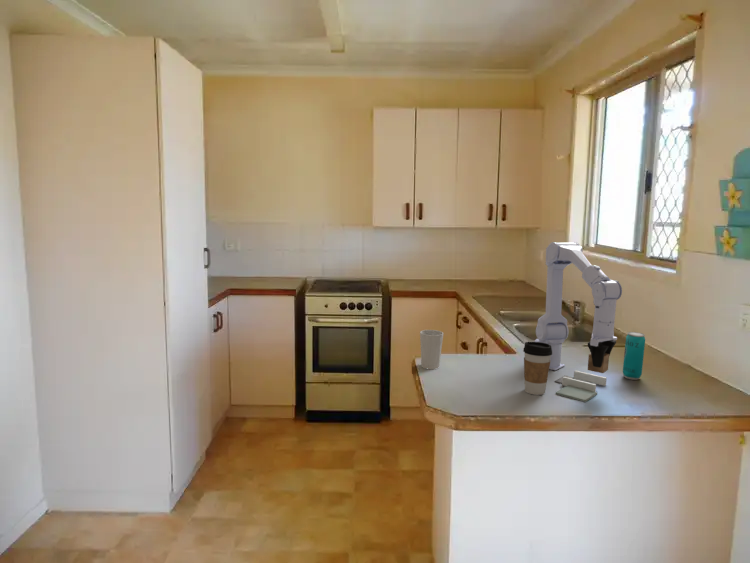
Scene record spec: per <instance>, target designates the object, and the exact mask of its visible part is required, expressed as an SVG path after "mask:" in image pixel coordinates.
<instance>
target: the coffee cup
mask: <svg viewBox="0 0 750 563" xmlns="http://www.w3.org/2000/svg"><path fill="white" fill-rule="evenodd" d="M522 352H523V353H524V357H523V367H524V368H523V372H524V392H525V393H527V394H530V395H533V396H534V395H535V396H541V395H544V394H546V389H547V388H546V387H547V383H548V382H547V381H548V378H549V371H550V369H549V367H550V357H551V355H552V347H551V345H549V344H546V343H541V342H534V341H526V342H524V347H523V350H522Z"/></svg>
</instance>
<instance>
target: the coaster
mask: <svg viewBox="0 0 750 563" xmlns="http://www.w3.org/2000/svg"><path fill="white" fill-rule="evenodd" d="M555 395H557V396H562V397H565V398H569V399H573V400H577V401H580V402H585V403H587V402H588V401H589V400H591V399H592V398H594V397H596V396H597V395H598V392H597V391H596V392H594V391H590V390H586V389H582V388H578V387H574V386H570V385H567V386H564V387H562V388H560V389H559V390H556V391H555Z"/></svg>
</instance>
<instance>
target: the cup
mask: <svg viewBox="0 0 750 563" xmlns="http://www.w3.org/2000/svg"><path fill="white" fill-rule="evenodd" d="M419 336H420V338H419V339H420V358H421V359H420V363H421V368H422V367H423V368H422V369H425V368H428V369H427V370H436V369H435V368H438V367H439V366H440V363H441V356H442V347H443V339H444V332H443V331H441V330H436V329H423V330H420V332H419ZM440 367H441V366H440ZM440 367H439V368H440ZM439 368H438V369H439Z"/></svg>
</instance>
